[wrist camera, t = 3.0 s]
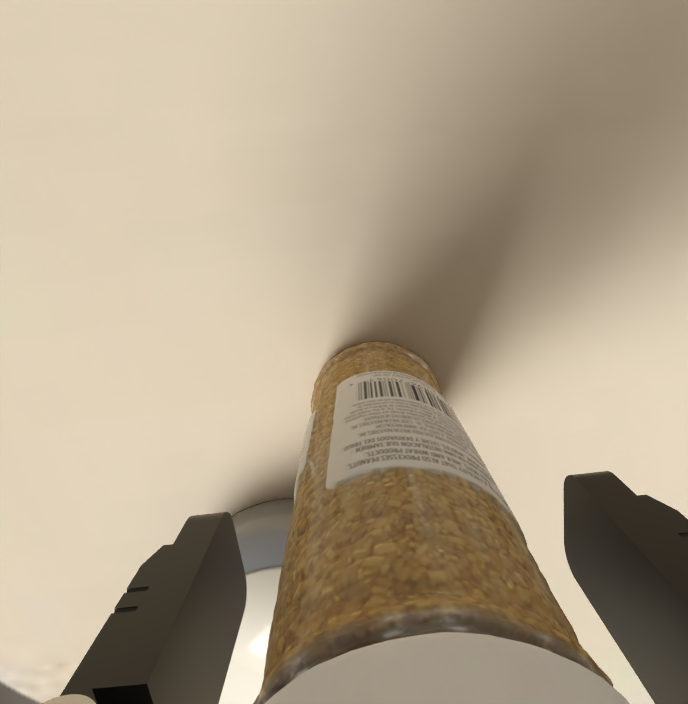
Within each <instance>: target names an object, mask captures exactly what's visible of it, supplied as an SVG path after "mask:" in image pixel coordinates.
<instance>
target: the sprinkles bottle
mask: <svg viewBox="0 0 688 704" xmlns="http://www.w3.org/2000/svg"><path fill="white" fill-rule="evenodd" d="M311 411H312V415H311V417H310V419H309V422H308V425H307V429H306V433H305V437H304V441H303V446H302V451H301V456H300V461H299V467H298V471H297V476H296V482H295V487H294V507H293V514H292V519H291V522H290V527H289V532H288V537H287V542H286V547H285V554H284V559H283V565H282V569H281V574H280V579H279V585H278V593H277V601H276V604H275V608H274V612H273V620H272V624H271V629H270V634H269V640H268V648H267V653H266V662H265V669H264V679H263V683H262V687H261V690H260V693H259V695H258V696H257V698H256V700H255V701H254V703H253V704H629V702H628V701H627V700H626V699H625V698H624V697H623V696H622V695H621V694H620V693H619V692H618V691H617V690H615V689H614V688H613V683H612V681H611V679H610V678H609V677H608V676H607V675H606V674H605V673H604V672H603V671H602V670H601V669H600V668H599V667H598V666H597V664H596V663H595V662H594V661H593V659H592V658H591V657H590V656H589V654H588V653H587V652H586V651H585V650H584V649H583V648H582V646H581V645H580V644H579V642H578V639H577V636H576V634H575V632H574V630H573V628H572V626H571V624H570V622H569V621H568V619H567V618H566V616H565V614H564V613H563V611H562V609H561V608H560V606H559V604H558V602H557V601H556V599H555V597H554V595H553V594H552V592H551V590H550V588H549V586H548V583H547V581H546V579H545V578H544V576H543V574H542V573H541V572H540V570H539V567H538V565H537V563H536V562H535V560H534V558H533V556H532V554H531V553H530V551H529V550H528V548H527V543H526V540H525V537H524V535H523V532H522V530H521V528H520V526H519V524H518V522H517V520H516V518H515V517H514V515H513V513H512V511H511V510H510V508H509V506H508V504H507V503H506V501H505V499H504V497H503V496H502V494H501V492H500V490H499V489H498V487H497V485H496V483H495V482H494V480H493V478H492V476H491V475H490V473H489V471H488V469H487V468H486V466H485V464H484V462H483V461H482V459H481V457H480V456H479V454H478V452H477V450H476V449H475V447H474V445H473V444H472V442H471V440H470V438H469V437H468V435H467V433H466V432H465V430H464V428H463V427H462V425H461V423H460V421H459V420H458V418H457V416H456V415H455V413H454V411H453V410H452V408H451V407H450V405H449V404H448V403H447V401H446V400H445V399H444V398H443V396H442V395H441V394H440V392H439V384H438V382H437V379H436V377H435V375H434V373H433V371H432V370H431V369H430V367H429V366H428V365H427V364H426V363H425V362H424V361H423V360H422V359H421V358H420V357H419V356H418V355H416V354H414V353H412V352H411V351H409V350H408V349H406V348H403V347H399V346H397V345H395V344H393V343H387V342H368V343H363V344H359V345H356V346H353V347H351V348H347V349H345V350H344V351H343V352H341V353H340V354H338V355H336V356H335V357H334V358H332V359H331V360H330V361H329V362H328V363H327V364H326V365H325V366H324V368H323V369H322V371H321V373H320V375H319V376H318V378H317V380H316V382H315V385H314V391H313V395H312V400H311Z"/></svg>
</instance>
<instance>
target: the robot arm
mask: <svg viewBox="0 0 688 704" xmlns="http://www.w3.org/2000/svg"><path fill="white" fill-rule="evenodd" d="M564 546H565V552H566V557H567V560H568V564H569V566H570V569H571V571H572V574H573V576H574V577H575V579H576V581H577V582H578V584H579V586H580V587H581V589H582V590H583V592H584V593H585V595H586V596H587V598H588V600H589V601H590V603H591V604H592V606H593V607H594V609H595V610H596V612H597V614H598V615H599V617H600V618H601V620H602V621H603V623H604V625H605V626H606V628H607V629H608V631H609V632H610V634H611V635H612V637H613V639H614V640H615V642H616V643H617V645H618V646H619V648H620V649H621V651H622V653H623V654H624V656H625V657H626V659H627V660H628V662H629V663H630V665H631V667H632V668H633V670H634V671H635V673H636V674H637V676H638V678H639V679H640V681H641V682H642V684H643V685H644V687H645V688H646V690H647V692H648V693H649V695H650V696H651V698H652V699H653V701H654V702H655V704H688V519H687V518H685V517H684V516H683V515H682V514H681V513H680V512H678V511H677V510H675V509H673V508H671V507H669V506H667V505H665V504H663V503H661V502H660V501H658V500H656V499H654V498H652V497H650V496H648V495H640V496H637V495H636V494H635V493H634V492H633V491H631V490H630V489H629V488H628V487H627V486H626V485H625V484H624V483H623V482H622V481H621V480H620V479H619V478H617V477H616V476H615V475H614V474H613V473H611V472H609V471H604V472H595V473H586V474H577V475H569V476H567V477H566V478H565V481H564ZM246 596H247V584H246V575H245V571H244V566H243V562H242V558H241V553H240V549H239V544H238V540H237V536H236V531H235V527H234V523H233V519H232V517H231V515H230V514H229V513H228V512H223V513H214V514H205V515H196V516H191V517H189V518H188V519H187V521H186V523H185V524H184V526H183V528H182V530H181V531H180V533H179V535H178V537H177V539H176V540H175V542H174V544H172V545H163V546H162V547H161V548H160V549H159V550H158V551H157V552H156V553H155V554H153V555H152V556H151V557H150V558H149V559H148V560H147V561H146V562H145V563H144V564H142V565H141V567H140V568H139V570H138V572H137V573H136V575H135V576H134V578H133V580H132V581H131V583H130V584H129V586H128V588H127V593H124V594H123V596H122V597H121V599H120V601H119V602H118V604H117V605H116V607H115V612H114V613H113V614H111V615H110V617H109V618H108V620H107V621H106V623H105V625H104V626H103V628H102V629H101V631H100V633H99V634H98V636H97V637H96V639H95V641H94V642H93V644H92V646H91V647H90V649H89V650H88V652H87V654H86V655H85V657H84V658H83V660H82V662H81V663H80V665H79V666H78V668H77V670H76V671H75V673H74V674H73V676H72V678H71V679H70V681H69V682H68V684H67V686H66V687H65V689H64V690H63V692H62V694H61V695H60V697H56V698H53V699H51V700H48V701H46V702H44V703H42V704H219V700H220V697H221V693H222V690H223V686H224V682H225V679H226V675H227V672H228V668H229V665H230V661H231V657H232V654H233V650H234V647H235V643H236V639H237V636H238V632H239V629H240V625H241V621H242V618H243V614H244V610H245V605H246Z"/></svg>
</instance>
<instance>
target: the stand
mask: <svg viewBox="0 0 688 704" xmlns="http://www.w3.org/2000/svg"><path fill="white" fill-rule="evenodd" d="M293 507H294V499H280V500H274V501H269V502H265V503H261V504H258V505H255V506H252V507H250V508H247V509H245V510H243V511H241V512H239V513H237V514H235V515H234V516H232V519H233V523H234V527H235V531H236V536H237V540H238V544H239V549H240V553H241V558H242V562H243V566H244V571H245V575H246V584H247V596H246V605H245V610H244V614H243V618H242V621H241V625H240V629H239V632H238V636H237V639H236V643H235V647H234V650H233V654H232V657H231V661H230V665H229V668H228V672H227V675H226V679H225V682H224V686H223V690H222V693H221V697H220V700H219V704H253V703H254V701H255V700H256V698H257V696H258V695H259V693H260V690H261V687H262V683H263V679H264V669H265V662H266V653H267V648H268V640H269V634H270V629H271V624H272V620H273V612H274V608H275V604H276V601H277V593H278V585H279V579H280V574H281V569H282V565H283V559H284V554H285V547H286V542H287V537H288V532H289V527H290V522H291V519H292V514H293Z"/></svg>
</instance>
